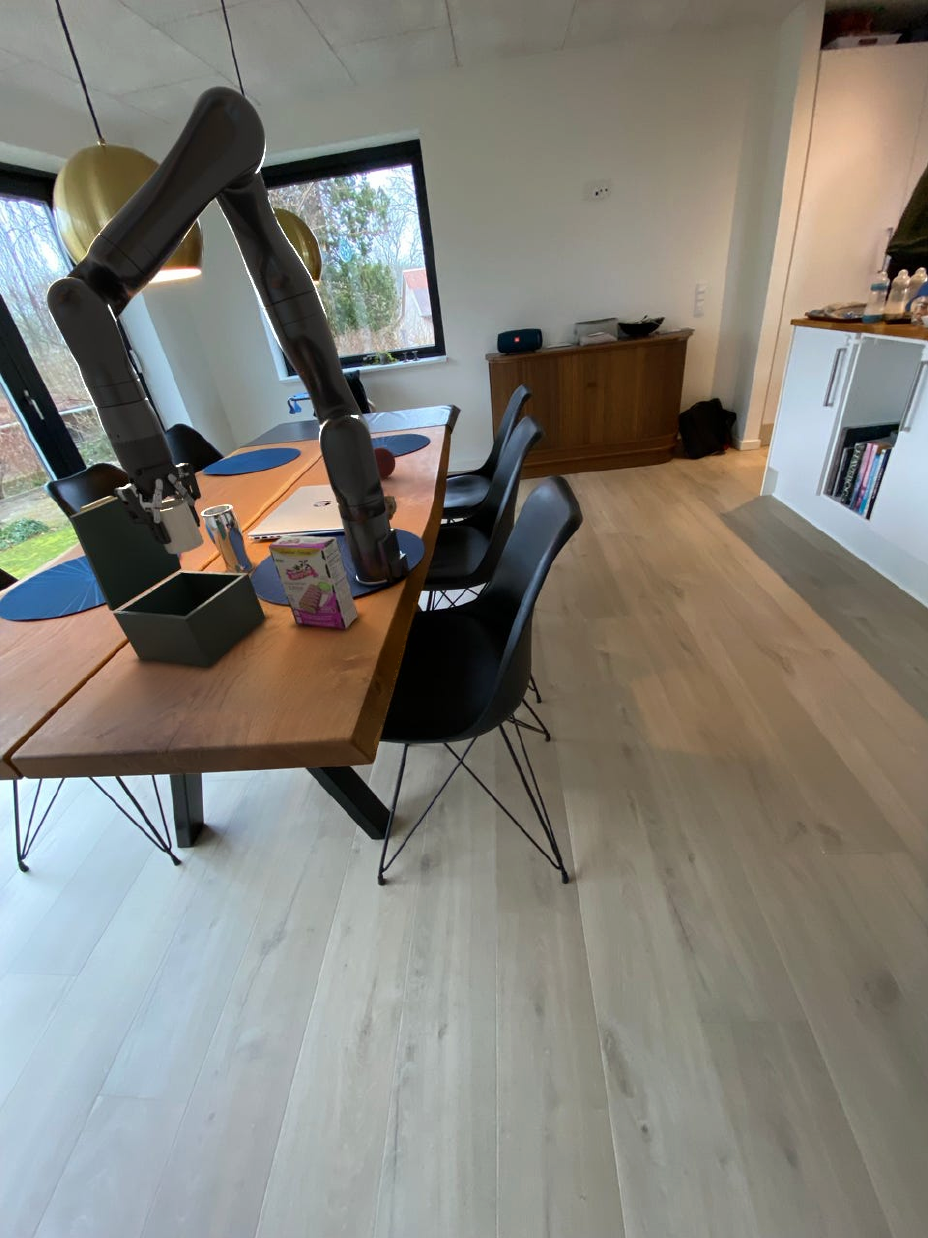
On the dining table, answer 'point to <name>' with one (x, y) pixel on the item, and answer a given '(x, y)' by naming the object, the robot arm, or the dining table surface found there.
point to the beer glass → (227, 538)
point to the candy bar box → (314, 580)
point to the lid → (121, 551)
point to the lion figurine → (390, 506)
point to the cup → (180, 526)
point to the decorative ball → (384, 461)
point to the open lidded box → (191, 617)
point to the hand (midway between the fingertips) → (180, 534)
